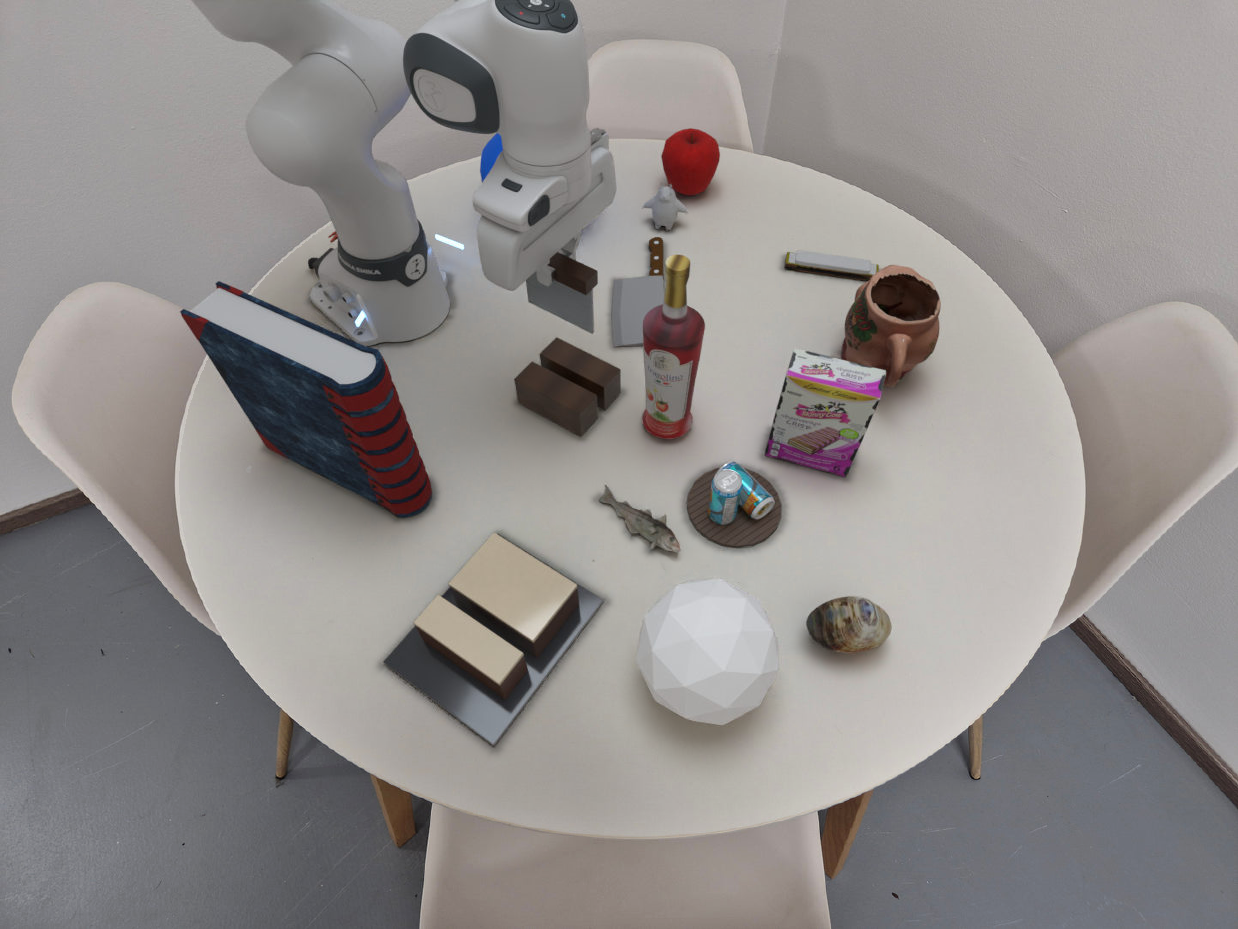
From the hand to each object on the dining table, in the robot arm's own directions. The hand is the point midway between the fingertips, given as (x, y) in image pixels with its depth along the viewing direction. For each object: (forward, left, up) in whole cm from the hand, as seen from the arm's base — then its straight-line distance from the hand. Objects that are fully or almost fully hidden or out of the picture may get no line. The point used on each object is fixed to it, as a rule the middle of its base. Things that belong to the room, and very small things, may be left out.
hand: (556, 272), depth 90 cm
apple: (-11, +51, -23) cm, 57 cm away
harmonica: (+19, +45, -23) cm, 54 cm away
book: (-16, -26, -23) cm, 38 cm away
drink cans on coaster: (+28, -3, -23) cm, 36 cm away
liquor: (+14, +4, -23) cm, 27 cm away
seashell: (+47, -11, -23) cm, 54 cm away
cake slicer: (0, 0, -7) cm, 7 cm away
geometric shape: (+36, -24, -23) cm, 49 cm away
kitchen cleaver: (-3, +24, -23) cm, 33 cm away
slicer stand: (0, 0, -23) cm, 23 cm away
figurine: (-10, +41, -23) cm, 48 cm away
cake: (+14, -33, -23) cm, 42 cm away
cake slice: (+14, -37, -22) cm, 45 cm away
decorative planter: (+34, +29, -23) cm, 50 cm away
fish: (+20, -11, -23) cm, 32 cm away
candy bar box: (+33, +10, -23) cm, 41 cm away
